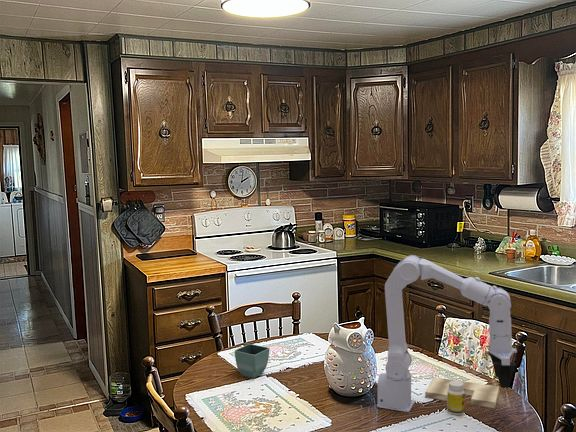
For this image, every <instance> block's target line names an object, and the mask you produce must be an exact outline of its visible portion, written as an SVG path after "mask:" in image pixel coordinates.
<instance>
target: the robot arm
mask: <svg viewBox="0 0 576 432" xmlns="http://www.w3.org/2000/svg"><path fill="white" fill-rule="evenodd" d="M419 277H420V280H422V281H424V280H429V279H434V280H435V281H439V282H440V283H442V284H443V283H444V284H446V285H448V286H451V287H453V288H455V289H458V290H459V291H460V294H461V295H462V297H464V298H467V299H468V300H471V301H474V302H476V303H478V304H480V305H482V306H485V307H488V309H489V317H488V330H489V350H488V351H487V354H488V356H489V357H490V359H491V362H492V366H493V372H494V375H495V377H496V378H498V382H499V387H500V388H502V389H508V388H510V384H511V379H512V376H513V373H514V370H515V369H516V368H517V367H516V366H517V364H516V362H511V357H512V356H513V354H516V353H518V350H517V348H515V347H514V348H513V339H512V338H513V337H512V333H513V332H512V317H511V309H512V303H511V302H512V301H511V297H510V294H509V293H508V291H506V290H504V289H503V288H502V287H497V285H493V286H492V285H490V284H487V283H486V282H484V281H481V278H480V277H478V276H475V277H473V276H470V277H466V278H463V277H462V276H460V275H459V274H456V273H454V272H452V271H450V270H448V269H446V268H444V267H442V266H440V265H438V264H436V263H434V262H432V261H430V260H428V259H425V258H420V257H419V256H417V255H414V254H411V255H407V256H405V257H404V258H403V259H401V260H400V261H399V262H398V263H397V265H395V267H394V268H393V270H392V272H391V273H390V275H389V276H388V278H387V280H386V282H385V283H384V296H385V308H386V322H387V324H386V325H387V334H388V335H387V337H388V338H387V339H388V349H387V362H386V364H385V373H380V374H379V375H378V378H377V379H378V380H377V404H376V407H377V408H382V409H387V410H393V411H398V412H399V411H400V412H405V413H409V412H411V409H412V408H413V406H414V404H416V403H415V402H416V400H414V399H412V374H411V371H410V370H409V369H410V366H411V364H412V362H413V361H412V360H413V359H412V356H411V354H410V352H409V350H408V348H409V347H408V344H407V342H406V341H407V340H406V339H407V338H406V329H405V328H406V325H405V311H404V299H403V290H404V288H406V286H407V285H409V284H411V283H412V284H413V282H416V281H417V280H418V279H419Z"/></svg>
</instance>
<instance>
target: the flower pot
mask: <svg viewBox="0 0 576 432" xmlns="http://www.w3.org/2000/svg"><path fill="white" fill-rule="evenodd" d="M233 352H234V358H235V365H236V367H237V369H238V371H239V373H240V374H241V376H243V377H249V378H251V379H255V378H257V377H259V376H261V375H262V374H263V373H264V371H265V370H266V369H267V366H268V363H269V356H270V347H267V346H262V345H257V344H252V343H248V344H246V345H244V346H241V347H239V348H237V349H235V350H234V351H233Z"/></svg>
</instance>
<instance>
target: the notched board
mask: <svg viewBox="0 0 576 432" xmlns="http://www.w3.org/2000/svg"><path fill="white" fill-rule="evenodd" d="M451 381H459V382H462V383H463V387H464V388H463V390H464V392H465V396H471V401H470V403H471V404H470V405H471V406H478V407H484V408H489V409H496V405H497V403H498V398H499V394H500V385H499V386H498V385H492V384H483V383H477V382H471V381H463V380H456V379H449V378H443V377H437V376H436V377H435V376H434V377H432V379H431V380H430V382H429V385H428V386H427V388H426V390H425V391H424V397H425V398H426V399H432V400H437V401H444V402H447V391H448V389H449V382H451Z"/></svg>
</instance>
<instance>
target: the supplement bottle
mask: <svg viewBox="0 0 576 432" xmlns="http://www.w3.org/2000/svg"><path fill="white" fill-rule="evenodd" d="M459 381H460V380H457V381H451V382H449V389H448V391H447V401H446V402H447V403H446V410H447V412H448V413H449V414H450V415H453V416H462V415H463V414H465V398H466V397H465V396H466V395H465V392H464V390H463V388H464V387H463V383H462V382H459Z"/></svg>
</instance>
